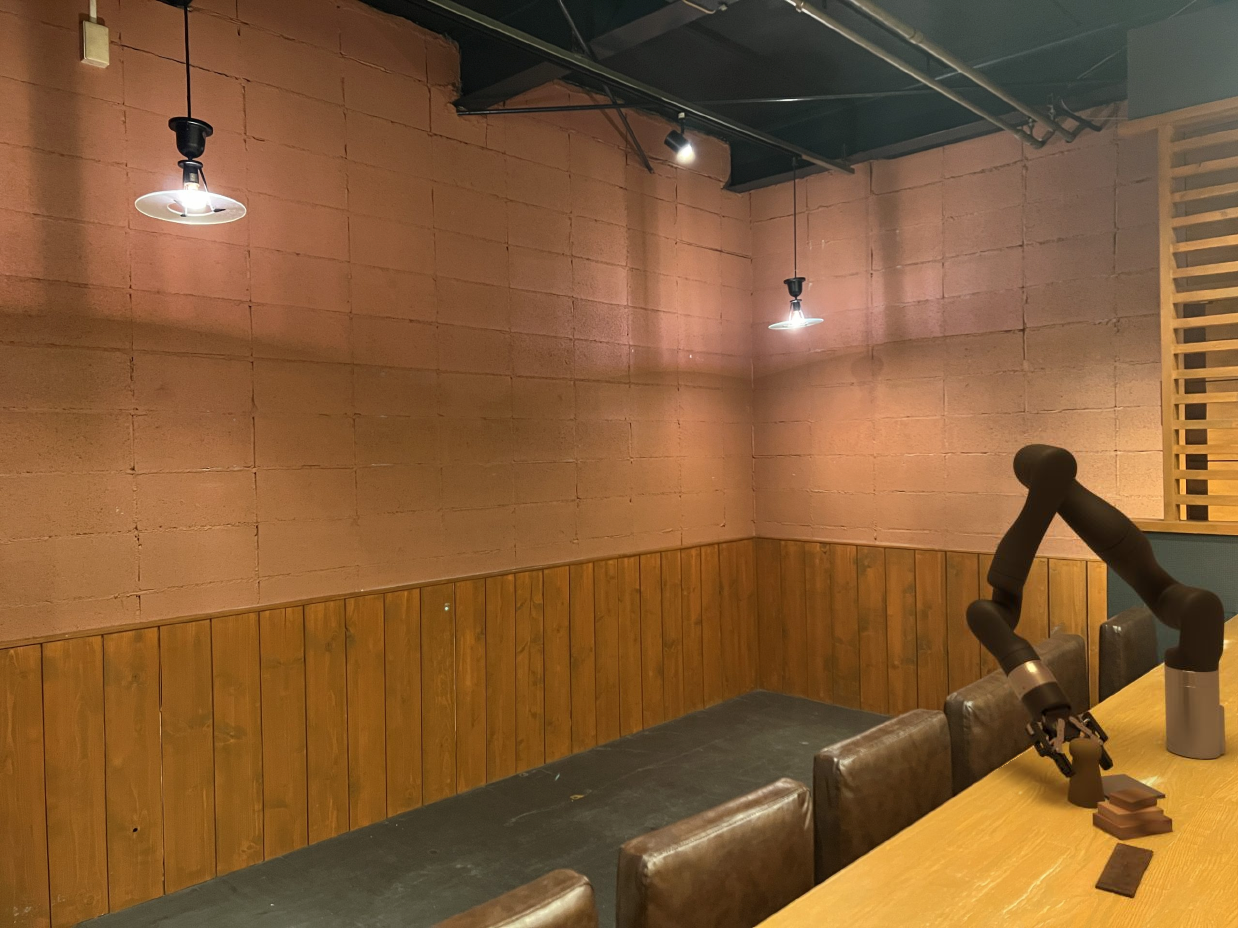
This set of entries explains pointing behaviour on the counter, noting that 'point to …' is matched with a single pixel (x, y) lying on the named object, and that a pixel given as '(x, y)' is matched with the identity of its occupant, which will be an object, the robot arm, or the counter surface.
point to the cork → (1085, 774)
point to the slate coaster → (1125, 785)
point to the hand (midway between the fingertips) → (1090, 771)
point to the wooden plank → (1124, 870)
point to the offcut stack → (1131, 815)
